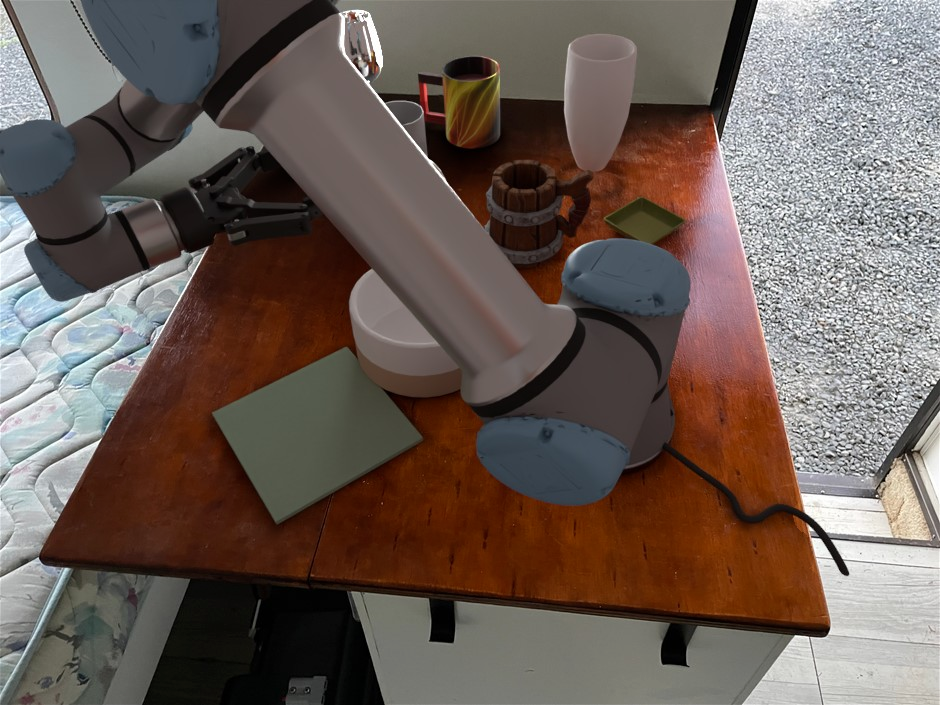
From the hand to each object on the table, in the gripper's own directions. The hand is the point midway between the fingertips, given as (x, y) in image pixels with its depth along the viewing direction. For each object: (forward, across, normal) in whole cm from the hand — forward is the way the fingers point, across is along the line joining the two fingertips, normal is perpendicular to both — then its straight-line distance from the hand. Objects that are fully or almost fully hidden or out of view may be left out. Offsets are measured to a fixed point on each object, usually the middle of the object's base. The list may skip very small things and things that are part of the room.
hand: (327, 167), depth 94 cm
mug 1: (+33, -17, -14) cm, 40 cm away
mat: (-18, +27, -14) cm, 36 cm away
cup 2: (+41, +8, -14) cm, 44 cm away
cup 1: (+19, -14, -14) cm, 27 cm away
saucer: (+38, +23, -14) cm, 46 cm away
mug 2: (+23, +16, -14) cm, 31 cm away
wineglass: (+21, -29, -14) cm, 38 cm away
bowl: (-1, +24, -14) cm, 28 cm away
